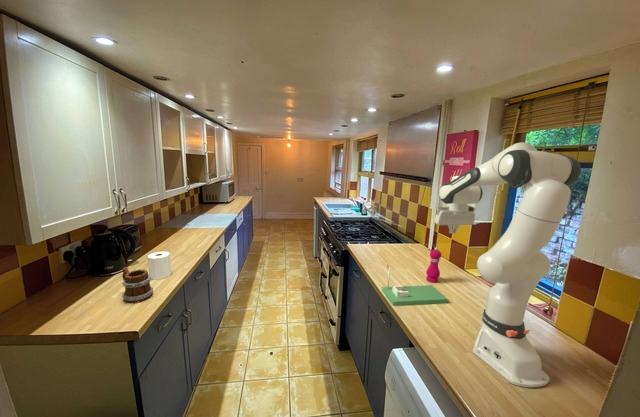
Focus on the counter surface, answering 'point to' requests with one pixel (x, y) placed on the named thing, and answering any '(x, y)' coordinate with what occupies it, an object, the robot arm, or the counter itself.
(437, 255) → the pepper mill
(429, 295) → the green
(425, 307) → the counter surface
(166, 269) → the toilet paper
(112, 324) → the counter surface
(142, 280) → the wooden bucket
